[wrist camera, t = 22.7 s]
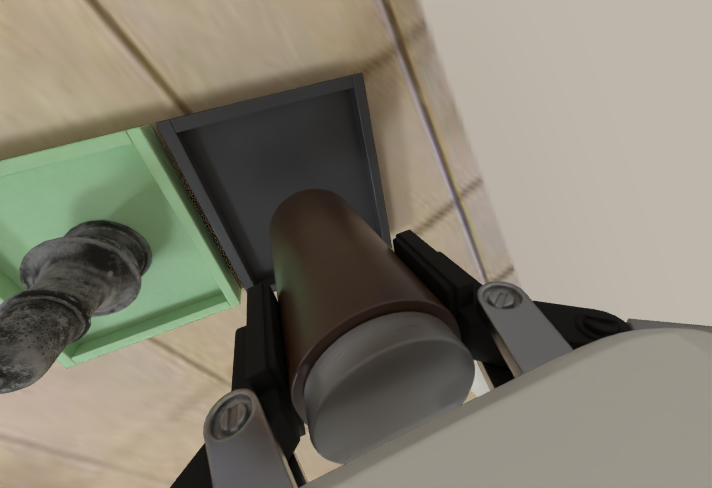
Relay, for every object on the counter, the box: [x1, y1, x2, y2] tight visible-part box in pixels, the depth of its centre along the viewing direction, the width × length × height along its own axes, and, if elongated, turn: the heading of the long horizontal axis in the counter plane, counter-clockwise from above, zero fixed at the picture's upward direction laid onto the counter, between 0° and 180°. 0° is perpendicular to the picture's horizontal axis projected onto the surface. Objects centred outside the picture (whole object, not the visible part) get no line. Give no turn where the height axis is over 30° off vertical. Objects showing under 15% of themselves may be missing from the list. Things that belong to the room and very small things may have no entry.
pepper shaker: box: [269, 189, 475, 464], centre depth 11 cm, size 5×5×11 cm
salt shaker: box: [0, 220, 152, 394], centre depth 15 cm, size 6×6×12 cm
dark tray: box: [156, 73, 392, 292], centre depth 23 cm, size 14×15×2 cm
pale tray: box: [0, 125, 241, 368], centre depth 20 cm, size 14×15×2 cm
